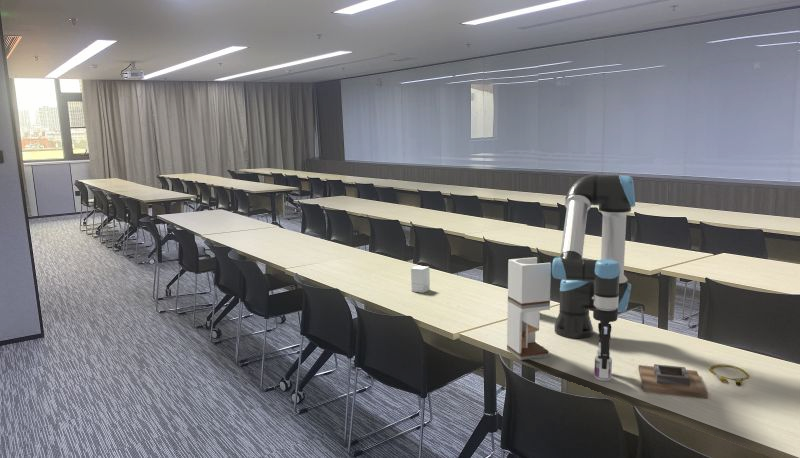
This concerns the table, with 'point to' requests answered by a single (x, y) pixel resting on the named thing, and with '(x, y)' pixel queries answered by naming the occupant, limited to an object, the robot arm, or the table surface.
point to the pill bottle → (597, 364)
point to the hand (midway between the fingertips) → (602, 369)
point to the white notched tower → (526, 305)
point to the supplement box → (420, 279)
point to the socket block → (671, 381)
